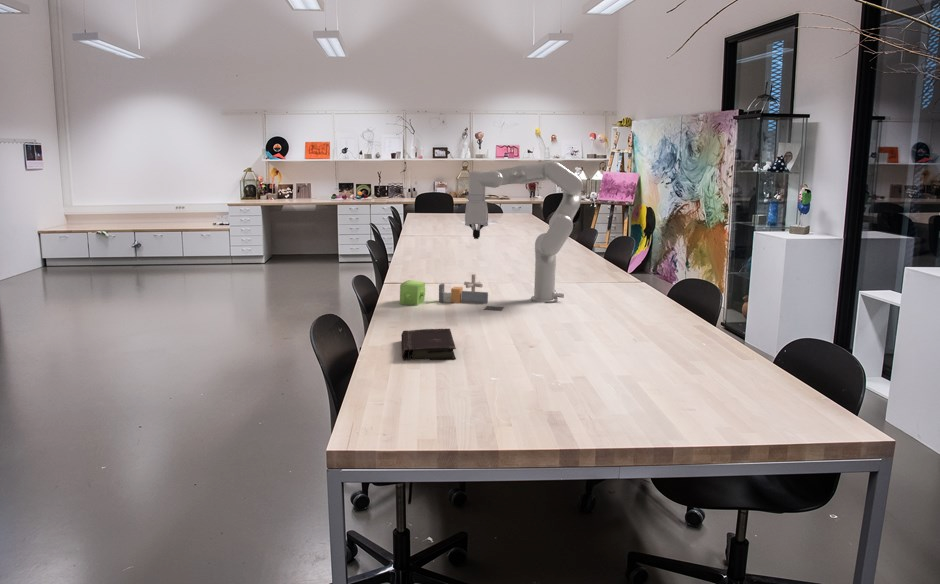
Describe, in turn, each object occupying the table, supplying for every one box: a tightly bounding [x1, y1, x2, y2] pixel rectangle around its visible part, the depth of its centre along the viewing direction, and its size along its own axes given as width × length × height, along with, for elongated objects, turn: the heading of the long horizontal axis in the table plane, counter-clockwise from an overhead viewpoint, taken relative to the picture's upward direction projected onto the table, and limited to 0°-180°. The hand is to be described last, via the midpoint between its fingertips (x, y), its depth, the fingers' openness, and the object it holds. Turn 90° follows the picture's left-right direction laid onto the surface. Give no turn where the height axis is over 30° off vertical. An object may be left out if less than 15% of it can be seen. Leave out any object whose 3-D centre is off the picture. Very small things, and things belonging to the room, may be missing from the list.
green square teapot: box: [399, 279, 426, 306], centre depth 322 cm, size 18×10×10 cm, turn 164°
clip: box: [450, 286, 464, 304], centre depth 325 cm, size 4×6×6 cm
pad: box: [482, 305, 505, 312], centre depth 312 cm, size 8×8×1 cm
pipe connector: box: [463, 273, 483, 292], centre depth 342 cm, size 10×10×10 cm
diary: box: [401, 328, 457, 362], centre depth 246 cm, size 19×25×5 cm
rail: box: [438, 283, 489, 304], centre depth 324 cm, size 22×5×8 cm, turn 77°
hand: (476, 238), depth 324 cm, fingers closed
